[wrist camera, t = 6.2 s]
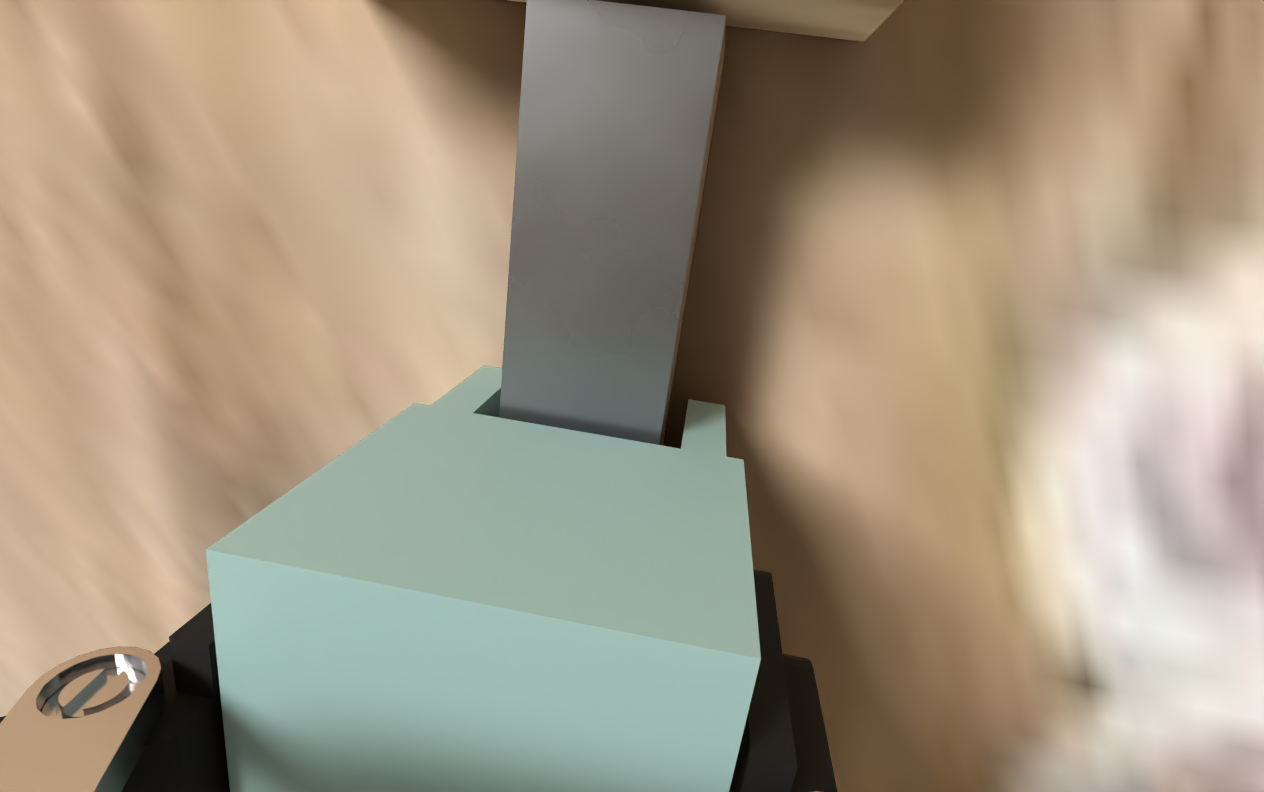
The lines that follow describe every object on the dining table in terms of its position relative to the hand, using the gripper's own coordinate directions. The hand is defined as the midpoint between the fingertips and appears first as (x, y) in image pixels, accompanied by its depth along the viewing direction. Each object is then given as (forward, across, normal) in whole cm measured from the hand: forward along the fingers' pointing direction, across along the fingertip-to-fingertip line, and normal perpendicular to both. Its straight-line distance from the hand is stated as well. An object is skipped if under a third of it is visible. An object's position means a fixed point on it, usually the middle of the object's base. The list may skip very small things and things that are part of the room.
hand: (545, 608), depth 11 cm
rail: (+4, 0, -2) cm, 5 cm away
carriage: (+4, 0, 0) cm, 4 cm away
